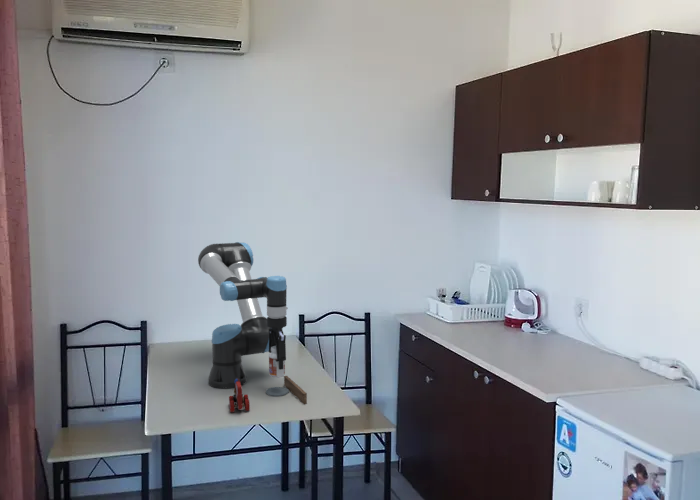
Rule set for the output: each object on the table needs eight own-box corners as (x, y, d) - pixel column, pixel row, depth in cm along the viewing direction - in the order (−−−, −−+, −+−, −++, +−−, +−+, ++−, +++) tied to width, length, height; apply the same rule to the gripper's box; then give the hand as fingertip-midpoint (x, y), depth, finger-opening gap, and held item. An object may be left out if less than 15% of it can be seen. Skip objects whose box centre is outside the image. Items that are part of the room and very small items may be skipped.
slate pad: (269, 397, 235) (269, 396, 234) (262, 390, 243) (262, 388, 243) (292, 394, 238) (292, 392, 238) (284, 386, 246) (284, 385, 246)
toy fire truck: (247, 401, 231) (247, 374, 229) (250, 413, 219) (249, 385, 217) (228, 403, 229) (228, 376, 228) (230, 415, 217) (229, 387, 216)
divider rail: (303, 404, 228) (303, 393, 228) (284, 385, 248) (284, 376, 247) (306, 403, 229) (306, 393, 228) (286, 385, 248) (286, 375, 248)
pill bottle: (269, 372, 242) (269, 345, 241) (285, 372, 243) (284, 344, 242) (268, 377, 236) (268, 349, 235) (284, 377, 237) (284, 349, 235)
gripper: (294, 320, 230) (294, 380, 232) (278, 310, 247) (278, 366, 250) (275, 322, 227) (276, 383, 229) (260, 312, 244) (260, 368, 246)
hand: (277, 374), depth 239 cm, fingers closed on pill bottle, 6 cm apart
